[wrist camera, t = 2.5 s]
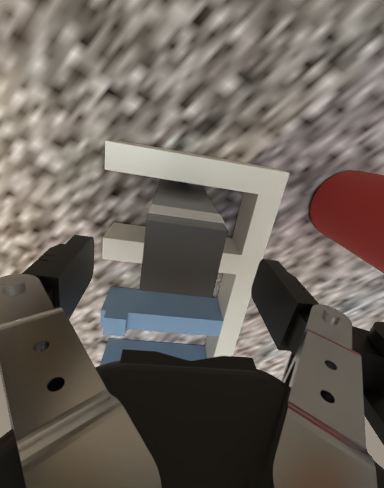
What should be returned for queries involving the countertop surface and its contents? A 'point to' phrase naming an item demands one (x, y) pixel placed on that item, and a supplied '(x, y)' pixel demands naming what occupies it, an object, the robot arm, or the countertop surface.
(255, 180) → the duct comb
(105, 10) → the countertop surface
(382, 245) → the beer can
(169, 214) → the grey trapezoid block
